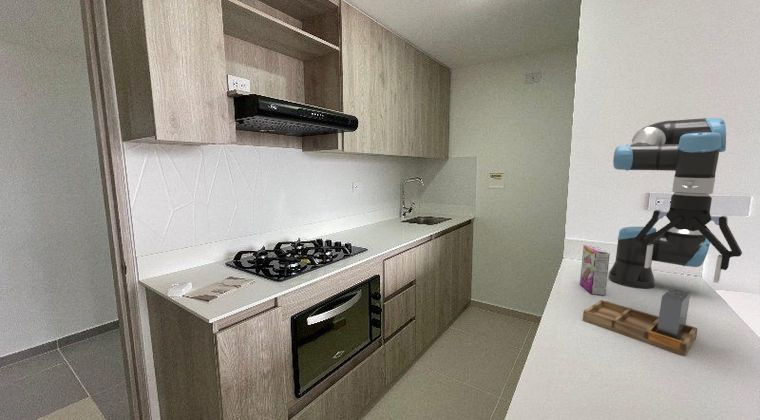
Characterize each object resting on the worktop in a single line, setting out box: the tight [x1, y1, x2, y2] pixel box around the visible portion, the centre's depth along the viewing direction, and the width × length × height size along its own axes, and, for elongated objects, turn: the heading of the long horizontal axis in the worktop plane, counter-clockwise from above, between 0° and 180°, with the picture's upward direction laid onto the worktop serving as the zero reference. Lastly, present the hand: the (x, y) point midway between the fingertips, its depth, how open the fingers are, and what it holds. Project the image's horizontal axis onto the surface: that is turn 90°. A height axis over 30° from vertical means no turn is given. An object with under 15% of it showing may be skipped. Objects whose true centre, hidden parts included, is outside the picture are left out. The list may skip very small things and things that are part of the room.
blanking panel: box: [657, 287, 691, 340], centre depth 86 cm, size 10×4×12 cm, turn 127°
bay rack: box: [582, 299, 698, 357], centre depth 93 cm, size 15×23×3 cm, turn 37°
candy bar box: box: [579, 244, 611, 296], centre depth 122 cm, size 11×5×16 cm, turn 168°
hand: (679, 274), depth 85 cm, fingers open, 13 cm apart
